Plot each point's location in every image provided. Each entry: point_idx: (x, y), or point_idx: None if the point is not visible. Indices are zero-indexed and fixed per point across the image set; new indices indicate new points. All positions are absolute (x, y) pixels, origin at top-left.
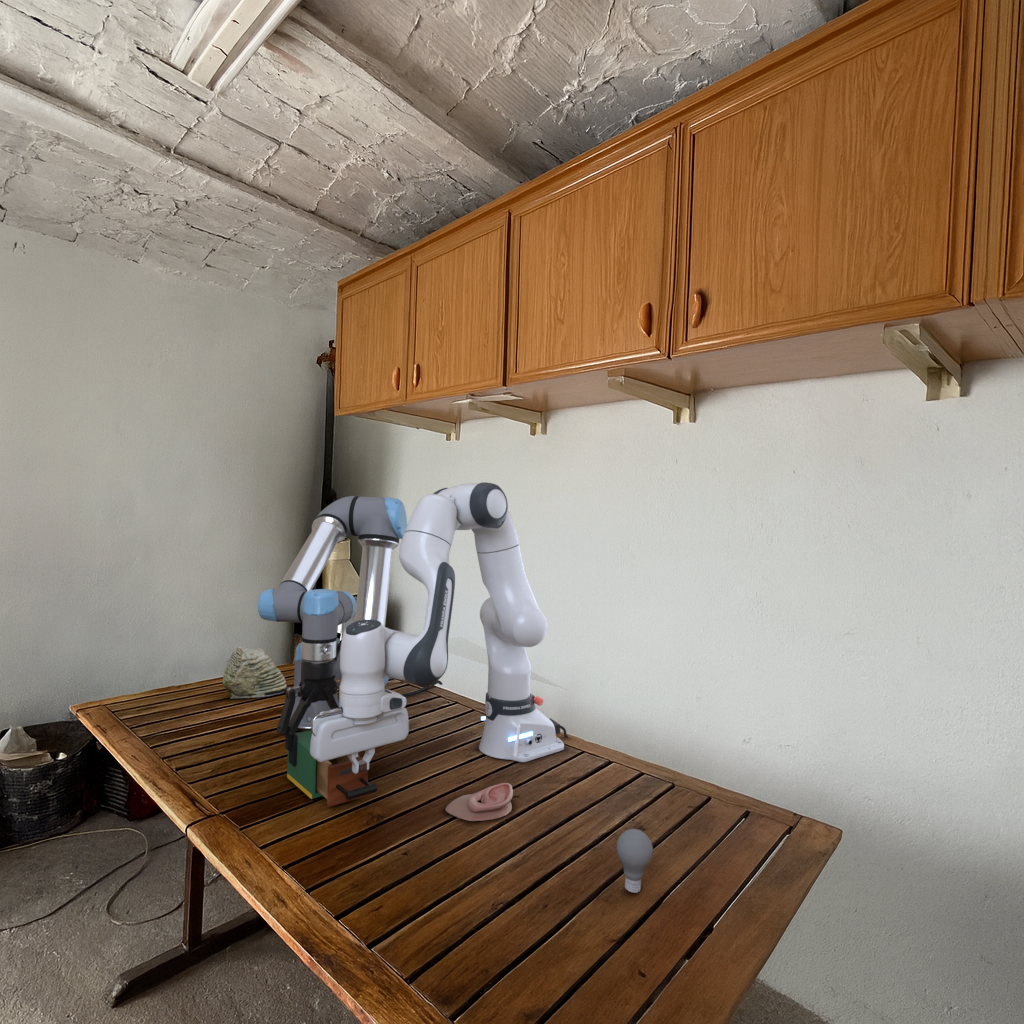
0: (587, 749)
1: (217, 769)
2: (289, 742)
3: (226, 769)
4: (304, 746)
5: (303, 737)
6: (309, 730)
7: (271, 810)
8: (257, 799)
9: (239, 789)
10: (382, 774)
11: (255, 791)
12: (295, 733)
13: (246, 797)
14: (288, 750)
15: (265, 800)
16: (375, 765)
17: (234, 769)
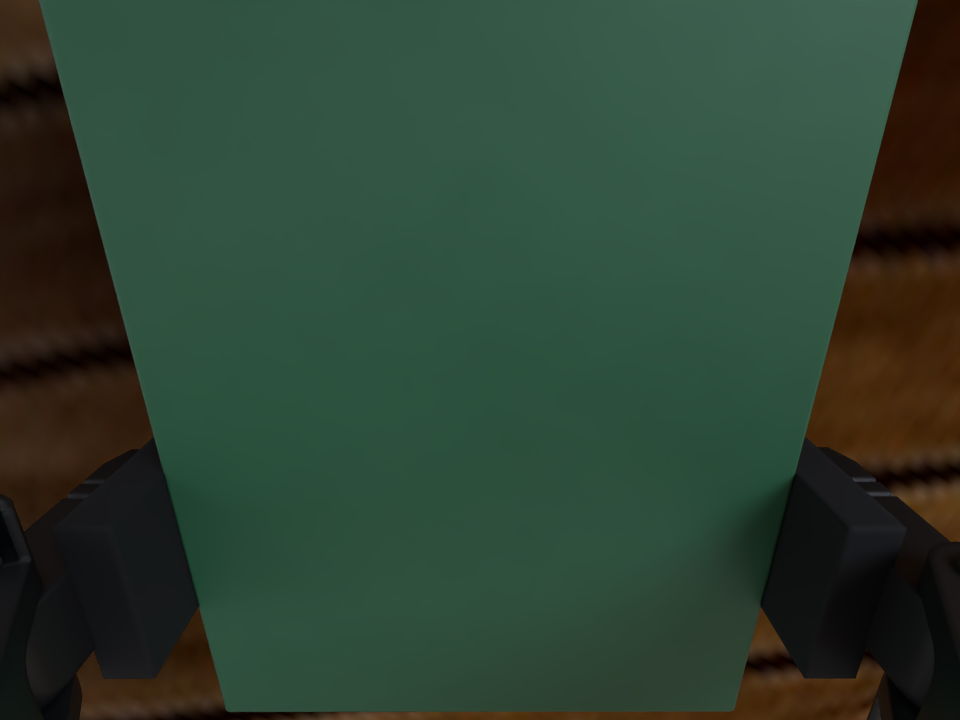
0: None
1: (846, 704)
2: (886, 505)
3: (814, 685)
4: (857, 228)
5: (651, 559)
6: (477, 706)
7: (957, 27)
8: (917, 258)
9: (908, 446)
10: (5, 115)
11: (859, 372)
12: (651, 706)
13: (945, 325)
14: (827, 451)
15: (891, 213)
16: (24, 297)
17: (785, 668)
